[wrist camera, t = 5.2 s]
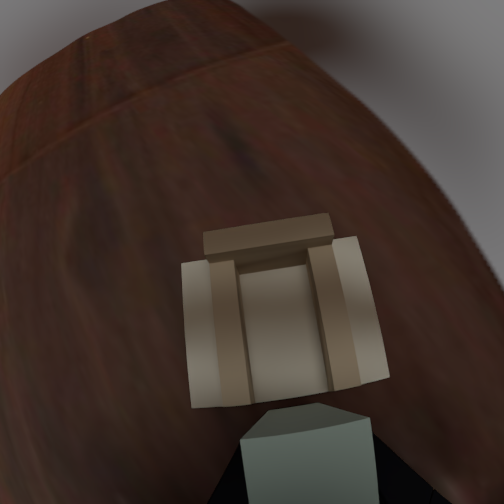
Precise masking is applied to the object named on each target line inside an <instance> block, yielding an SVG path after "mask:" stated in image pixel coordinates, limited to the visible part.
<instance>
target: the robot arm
mask: <svg viewBox="0 0 504 504" xmlns="http://www.w3.org/2000/svg"><path fill="white" fill-rule="evenodd" d="M372 437H373V445H374V454H375V462H376V472H377V483H378V494H379V504H452V503H450V502H449V501H448V500H447V499H445V498H444V497H443V496H442V495H441V494H440V493H438V492H437V491H436V490H433V487H431V486H430V485H429V484H428V483H427V482H426V481H425V480H424V479H423V478H421V477H420V476H419V475H418V474H417V473H416V472H415V471H414V470H413V469H412V468H410V467H409V466H408V465H407V464H406V463H405V462H404V461H403V460H402V459H401V458H400V457H398V456H397V455H396V454H395V453H394V452H393V451H392V450H391V449H390V448H389V447H388V446H387V445H386V444H385V443H383V442H382V441H381V440H380V439H379V438H378V437H377V436H376V435H375V434H374V433H373V432H372ZM207 504H249V499H248V493H247V486H246V479H245V472H244V466H243V459H242V451H241V444H240V443H239V445H238V447H237V449H236V451H235V453H234V455H233V457H232V459H231V460H230V462H229V464H228V466H227V468H226V470H225V472H224V474H223V475H222V477H221V479H220V481H219V483H218V485H217V486H216V488H215V490H214V492H213V494H212V496H211V497H210V499H209V501H208V503H207Z"/></svg>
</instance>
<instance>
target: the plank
mask: <svg viewBox="0 0 504 504" xmlns="http://www.w3.org/2000/svg"><path fill="white" fill-rule="evenodd" d="M240 444H241V451H242V459H243V466H244V472H245V479H246V486H247V493H248V499H249V504H379V494H378V483H377V472H376V462H375V454H374V445H373V437H372V429H371V422H370V418H369V417H366V416H362V415H358V414H355V413H351V412H348V411H344V410H341V409H338V408H334V407H331V406H328V405H325V404H321V403H312V404H306V405H300V406H294V407H288V408H281V409H274V410H268V411H267V412H266V414H265V415H264V416H263V417H262V418H261V419H260V420H259V421H258V422H257V423H256V424H255V425H254V426H253V427H252V428H251V429H250V430H249V431H248V432H247V433H246V434H245V435H244V436H243V437H242V438H241V439H240Z"/></svg>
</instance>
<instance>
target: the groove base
mask: <svg viewBox="0 0 504 504" xmlns="http://www.w3.org/2000/svg"><path fill="white" fill-rule="evenodd" d="M333 238H334V232H333V228H332V225H331V221H330V217H329V214H328V213H323V214H316V215H309V216H302V217H296V218H289V219H283V220H276V221H270V222H263V223H257V224H251V225H244V226H238V227H232V228H226V229H220V230H214V231H208V232H203V241H204V255H205V257H206V259H207V260H200V261H194V262H188V263H181V265H182V290H183V309H184V325H185V340H186V353H187V365H188V376H189V387H190V397H191V406H192V408H205V407H219V406H223V407H230V406H240V405H250V404H253V403H259V402H267V401H274V400H281V399H288V398H294V397H301V396H306V395H312V394H318V393H323V392H328V391H338V390H342V389H347V388H352V387H356V386H360V385H361V384H365V383H369V382H373V381H377V380H381V379H385V378H389V377H390V376H389V370H388V365H387V360H386V355H385V350H384V345H383V340H382V335H381V330H380V326H379V321H378V317H377V313H376V308H375V304H374V300H373V296H372V292H371V288H370V284H369V280H368V276H367V272H366V269H365V265H364V261H363V258H362V254H361V250H360V247H359V243H358V240H357V237H356V236H354V237H347V238H341V239H334V240H333Z"/></svg>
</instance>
